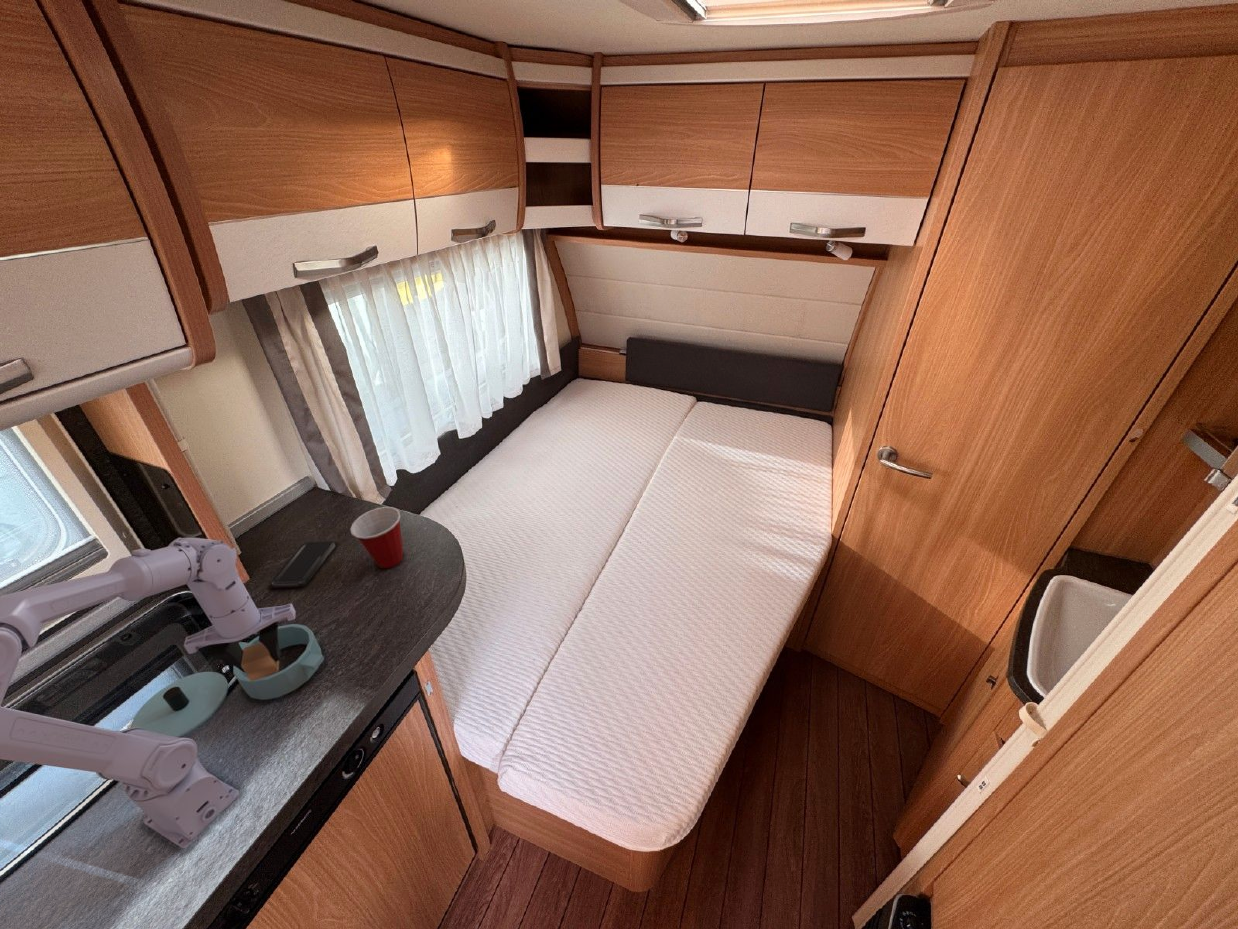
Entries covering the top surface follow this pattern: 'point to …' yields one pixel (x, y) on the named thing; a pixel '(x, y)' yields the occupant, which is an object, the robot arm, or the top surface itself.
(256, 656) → the block
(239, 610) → the robot arm
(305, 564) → the phone
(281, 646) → the pot
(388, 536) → the plastic cup
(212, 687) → the lid
